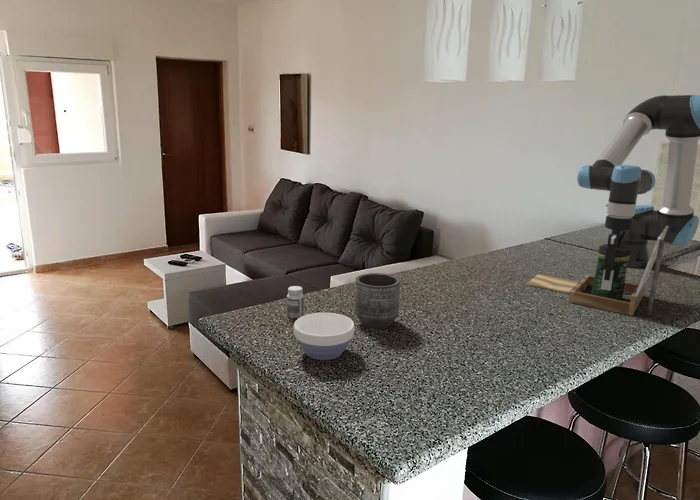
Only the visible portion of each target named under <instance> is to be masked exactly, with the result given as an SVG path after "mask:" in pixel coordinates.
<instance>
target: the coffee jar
mask: <svg viewBox="0 0 700 500" xmlns="http://www.w3.org/2000/svg"><path fill="white" fill-rule="evenodd" d="M607 245H608V243H604V244H601V245H599V247H598V252H597V264H596V269H595V275H594V276H595V279H594V283H593V287H591V294H590V295H595V296H600V297H605V298H610V299H615V300H620V301H622V299H623V297H624V293H623V292H624V283H625V282H626V274H627V264H628V260H629V257H630V250H631V248H630V246H629V245H628V244H625V243H621V246H620V248H616V253H615V264H614V269H613V270H614V273H613V279H612V286H611V291H609V290H604V289H601V285H602V278H603V272H604V269H601V267H603V265H604V260H605V255H606V250H607ZM608 266H610V265H608Z"/></svg>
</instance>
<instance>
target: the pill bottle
mask: <svg viewBox="0 0 700 500" xmlns="http://www.w3.org/2000/svg"><path fill="white" fill-rule="evenodd" d="M304 301H305V297H304V294H303V287H302V286H300V285H299V286H298V285H292V286H289V287H288V289H287V295H286V314H287V317H288V318H289V317H290V319H293V318H297V319H299V318H300V317H302V316H305V306H304V305H305V303H304Z"/></svg>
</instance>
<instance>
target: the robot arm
mask: <svg viewBox="0 0 700 500" xmlns="http://www.w3.org/2000/svg"><path fill="white" fill-rule="evenodd" d="M652 130H664V131H665V133H664V134H665V137H666V138H667V140H668V141H669V143H668V150H667V151H668V152H667V162H666V168H665V169H666V170H665V179H664V189H663V195H662V204H661V205H659V206H658V207H657V209H656V210H655V207H654V205H651V204H650V205H648V204H637V199H638V195H643V194H644V195H645V194H647V193H649V192H650V191H651V190H652V189H654V187H655V185H656V177H655V175H654V173H653V172H651V171H650V170H647V169H642V168H641V167H640V166H638V165H629V164H623V163H624V162H625V161H626V159H627V158H628V157H629V155H630V154H631V153H632V151H633V149H634V148H635V147H636V146H637V145H638V143H639V142H640V140H641V139H642V138H643V136H645V135H647V134H649V132H651V131H652ZM699 141H700V95H699V94H682V95H681V94H680V95H678V94H677V95H675V94H674V95H664V94H663V95H658V96H654V97H650V98H648V99H646V100H644V101H643V102H641V103H639V104H637V105H635V106H634V107H633V108H632V109H631V110H630V111H629V112H628V113H627V114H626V115H625V117H624V119H623V122H622V125H621V127H620V129H619V130H618V131H617V132H616V134H615V135H614V136H613V138H612V139H611V140H610V142H609V143H608V144H607V146H606V147H605V148H604V150H603V151H602V152H601V154H600V155H599V156H598V157H597V159H596V160H595V162H593V164H592V165H590V164H588V165H583V166H581V167H580V168H579V170H578V173H577V177H576V181H577V184H578V186H579V187H581V188H584V189H589V190H597V191H606V192H609V197H608V203H606V204H605V207H607V208H606V209H607V210H606V214H607V216H606V217H605V222H604V227H605V229H608V230H611V233H610V234H608V237H607V244H608V245H607V250H606V255H605V260H604V265H603V267H601V269H604V272H603V278H602V285H601V289H604V290H609V291H611V286H612V279H613V273H614V270H613V269H614V264H615V253H616V248H620V246H621V243H625V244H628V245H629V246H630V248H631V250H630V257H629V260H628V264H627V267H628V268H639V269H640V268H646V266H647V264H648V261H649V259H650V253H649V249H648V244H649V242H650V241H651V242H656V241H657V239H658V237H659V236H660V234H661V233H662V231H663V230H664V229H665V227H666V226H668V229H667V231H666V234H665V236H664V239H663V240H665V242H664V244H668V245H672V246H680V247H684V246H688V245H689V244H690V243H691V241H692V240H693V238H694V237H695V235H696V233H697V230H698V227H699V222H700V217H699V216H697V215H694V213H695V210H694V208H693V207H692V206H691V199H692V198H691V197H692V191H693V185H694V184H693V183H694V176H695V170H696V162H697V152H698V145H699ZM608 265H610V266H608Z"/></svg>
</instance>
